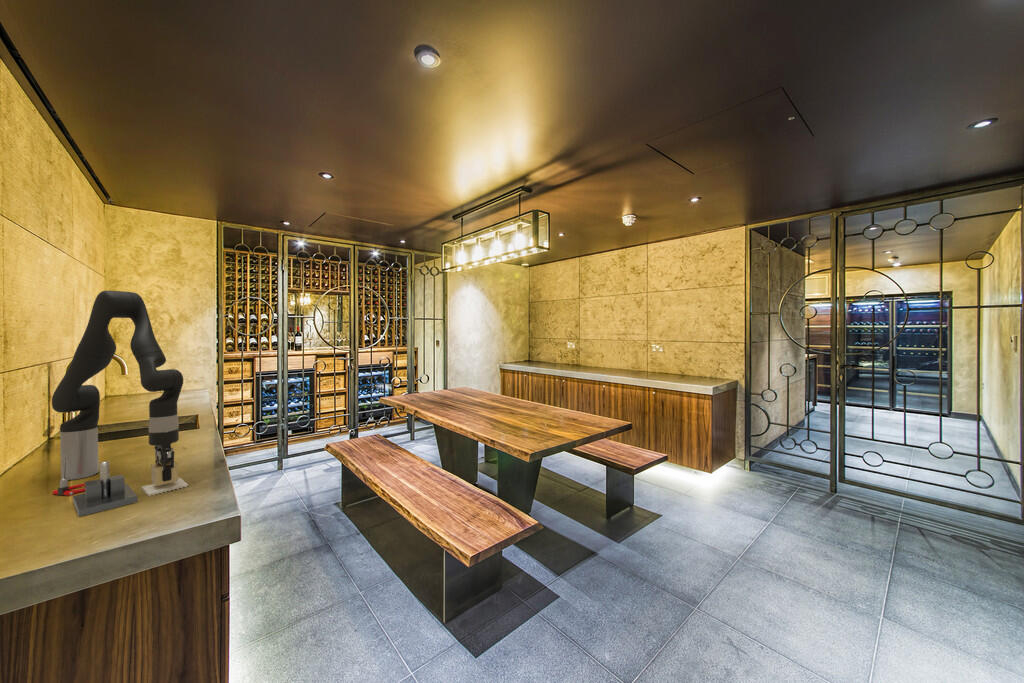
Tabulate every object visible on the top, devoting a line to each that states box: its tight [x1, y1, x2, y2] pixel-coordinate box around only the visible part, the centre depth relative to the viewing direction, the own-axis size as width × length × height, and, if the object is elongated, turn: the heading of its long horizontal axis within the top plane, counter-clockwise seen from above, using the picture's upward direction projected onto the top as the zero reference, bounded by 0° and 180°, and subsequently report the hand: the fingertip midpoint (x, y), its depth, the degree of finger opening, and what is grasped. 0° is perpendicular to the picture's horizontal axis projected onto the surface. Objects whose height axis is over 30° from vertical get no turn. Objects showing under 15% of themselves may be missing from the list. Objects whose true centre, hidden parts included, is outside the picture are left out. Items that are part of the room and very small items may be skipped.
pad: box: [141, 477, 189, 497], centre depth 130 cm, size 10×10×1 cm
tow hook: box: [51, 455, 85, 497], centre depth 129 cm, size 8×13×9 cm
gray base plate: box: [72, 460, 138, 518], centre depth 119 cm, size 16×12×12 cm
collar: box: [151, 460, 179, 486], centre depth 130 cm, size 6×6×6 cm
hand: (164, 478), depth 130 cm, fingers closed on collar, 5 cm apart
